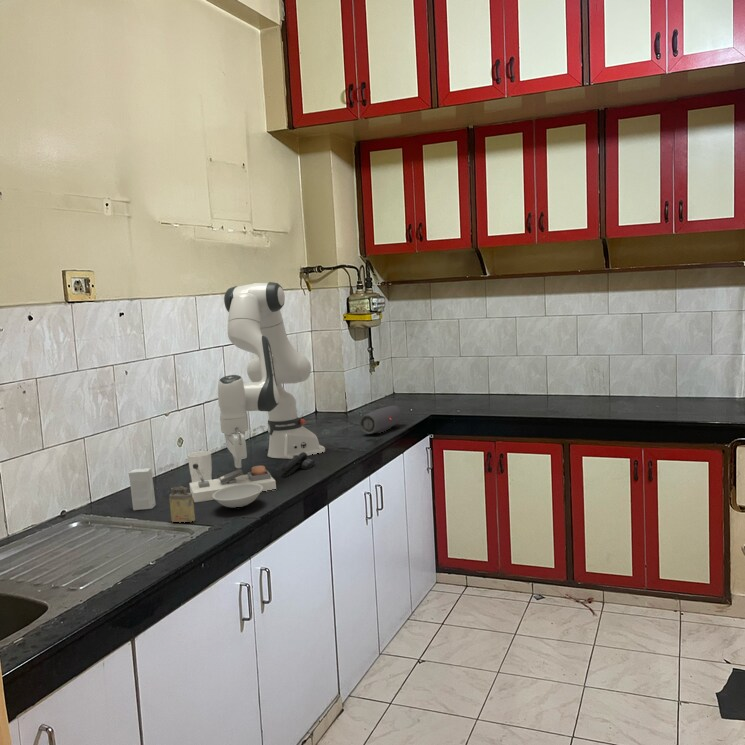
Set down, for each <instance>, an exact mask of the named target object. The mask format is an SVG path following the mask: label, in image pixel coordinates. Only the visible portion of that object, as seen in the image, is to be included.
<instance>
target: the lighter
mask: <svg viewBox="0 0 745 745" xmlns="http://www.w3.org/2000/svg"><path fill="white" fill-rule="evenodd" d="M177 491H178V492H177ZM187 491H189V487H184V486H182V485H181V486H177V487H175V486H174V487H171V488H170V492H171V493H170V494H169V495H168V496H169V508H170V510H169V511H170V517H171V518H170V519H171V521H172V522H171V523H173V522H179V523H178V524H182V523H181V522H184V523H183V524H185V522H190V523H192V521H193V522H196V517H195V516H196V515H195V505H194V500H193V497H192V493H191V492H187Z"/></svg>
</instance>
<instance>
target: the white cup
mask: <svg viewBox="0 0 745 745" xmlns="http://www.w3.org/2000/svg"><path fill="white" fill-rule="evenodd" d="M187 460H188V468H189V474H190V477H191V483H192V482H199V481H201V480H200V478H199V476H198V474H197V472H196V470H195V469H194V468H193V464H198V468H199V470H200V472H201V474H202V476H203V478H204V481H206V480H213V479H212V478H213V477H212V473H213V472H212V470H213V467H212V466H213V465H212V452H211V451H210V450H209V451H207V450H200V451H195V452H190V453H188V454H187Z"/></svg>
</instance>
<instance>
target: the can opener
mask: <svg viewBox="0 0 745 745" xmlns="http://www.w3.org/2000/svg"><path fill="white" fill-rule="evenodd" d="M314 464H315V460H313V459H310V458H308V456H307V454H306V453H305V452H302V453H300V454H299V455H294V456H293V458H292V459H289V460H288V461H287V462H286V463H285V464H284V465H283V466H282V467H281V471H283V473H282V474H281V477H282V476H283V477H282V478H286V477H285V476H287V477H289V476H290V475H289V474H291V473H292V474H293V473H294V472H295V471H296V470H297V469H302V470H308V469H307V468H309V469H310V467H311V466H312V467H313V466H314ZM312 467H311V468H312ZM292 474H291V475H292ZM288 475H289V476H288Z"/></svg>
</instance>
